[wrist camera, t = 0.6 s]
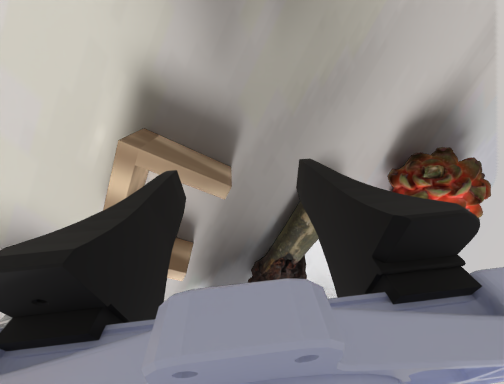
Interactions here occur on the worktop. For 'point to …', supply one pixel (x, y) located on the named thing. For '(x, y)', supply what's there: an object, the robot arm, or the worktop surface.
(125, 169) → the light wooden open box
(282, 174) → the worktop surface
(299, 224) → the metal pipe
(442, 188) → the dragon fruit
